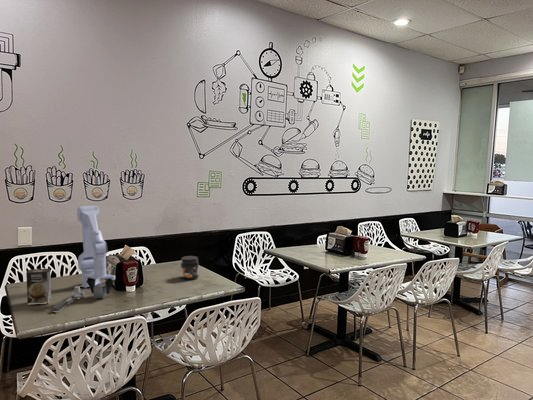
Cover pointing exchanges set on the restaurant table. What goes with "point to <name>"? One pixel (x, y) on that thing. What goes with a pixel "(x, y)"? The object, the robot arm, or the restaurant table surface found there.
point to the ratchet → (74, 295)
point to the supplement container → (189, 268)
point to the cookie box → (38, 286)
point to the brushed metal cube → (100, 291)
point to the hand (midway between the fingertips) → (100, 293)
